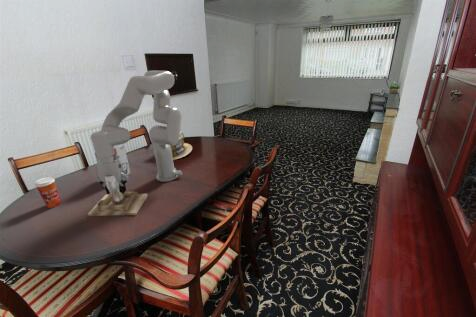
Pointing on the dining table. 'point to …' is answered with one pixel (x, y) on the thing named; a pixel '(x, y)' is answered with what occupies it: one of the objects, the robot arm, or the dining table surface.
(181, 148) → the gold white round stack
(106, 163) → the robot arm
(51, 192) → the paper cup
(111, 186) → the beer glass
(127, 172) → the hard drive box
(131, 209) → the pocket board
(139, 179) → the dining table surface
